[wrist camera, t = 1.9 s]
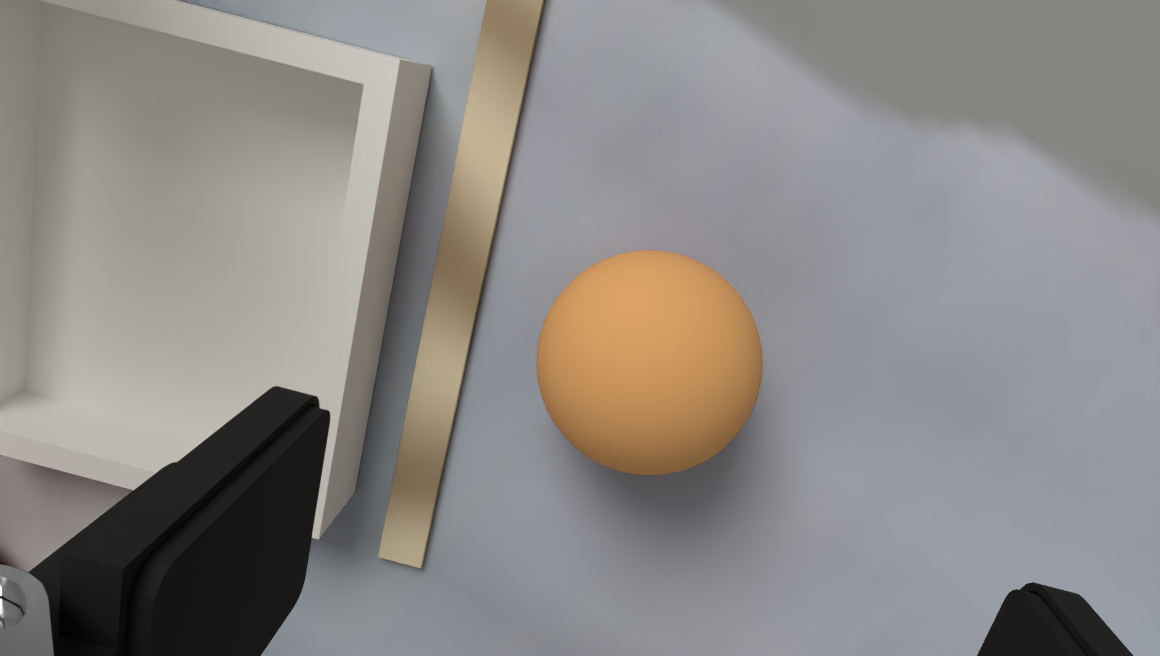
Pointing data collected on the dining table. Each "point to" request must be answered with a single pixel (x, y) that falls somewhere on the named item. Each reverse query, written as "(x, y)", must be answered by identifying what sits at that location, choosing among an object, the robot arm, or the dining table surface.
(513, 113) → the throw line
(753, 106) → the dining table surface
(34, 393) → the tray
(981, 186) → the dining table surface
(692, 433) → the ball
